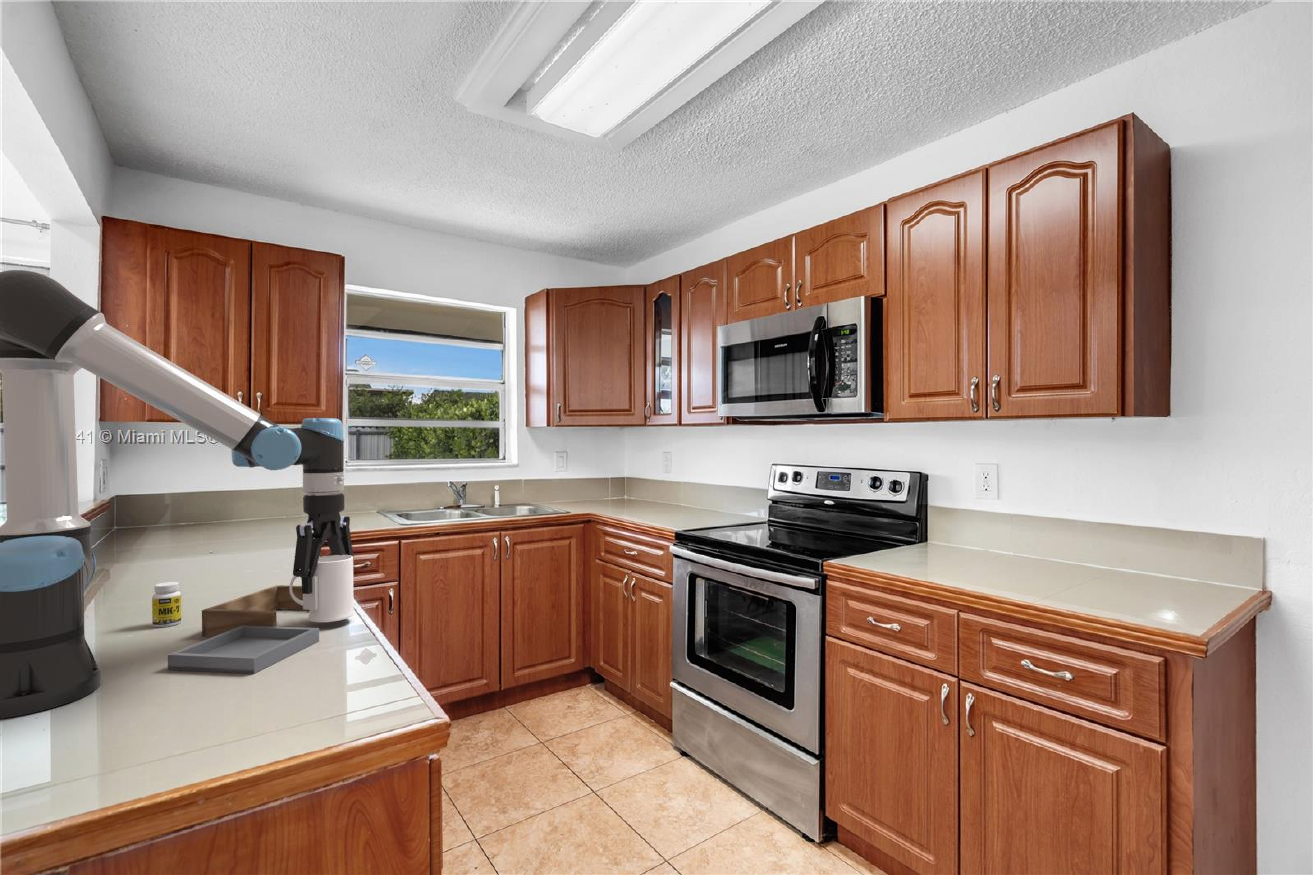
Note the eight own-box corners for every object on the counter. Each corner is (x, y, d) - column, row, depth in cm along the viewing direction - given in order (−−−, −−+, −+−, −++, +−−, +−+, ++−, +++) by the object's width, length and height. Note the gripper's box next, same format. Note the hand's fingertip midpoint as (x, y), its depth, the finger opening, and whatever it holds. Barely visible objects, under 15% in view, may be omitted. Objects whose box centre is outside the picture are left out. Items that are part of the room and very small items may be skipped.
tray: (254, 673, 104) (254, 658, 104) (167, 669, 106) (167, 654, 106) (319, 641, 120) (319, 628, 120) (242, 638, 122) (242, 625, 122)
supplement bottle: (156, 629, 128) (155, 587, 128) (149, 625, 131) (148, 584, 131) (185, 623, 132) (184, 583, 132) (177, 619, 135) (176, 580, 135)
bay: (273, 638, 121) (272, 612, 121) (202, 635, 124) (201, 610, 123) (339, 609, 141) (338, 586, 141) (277, 607, 143) (276, 585, 143)
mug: (288, 627, 124) (287, 565, 124) (291, 616, 131) (290, 558, 131) (355, 619, 129) (354, 560, 129) (354, 608, 137) (353, 553, 136)
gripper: (305, 498, 119) (307, 618, 120) (370, 488, 141) (372, 590, 141) (269, 498, 120) (270, 617, 121) (339, 488, 142) (341, 589, 142)
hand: (325, 602), depth 131 cm, fingers closed on mug, 8 cm apart
